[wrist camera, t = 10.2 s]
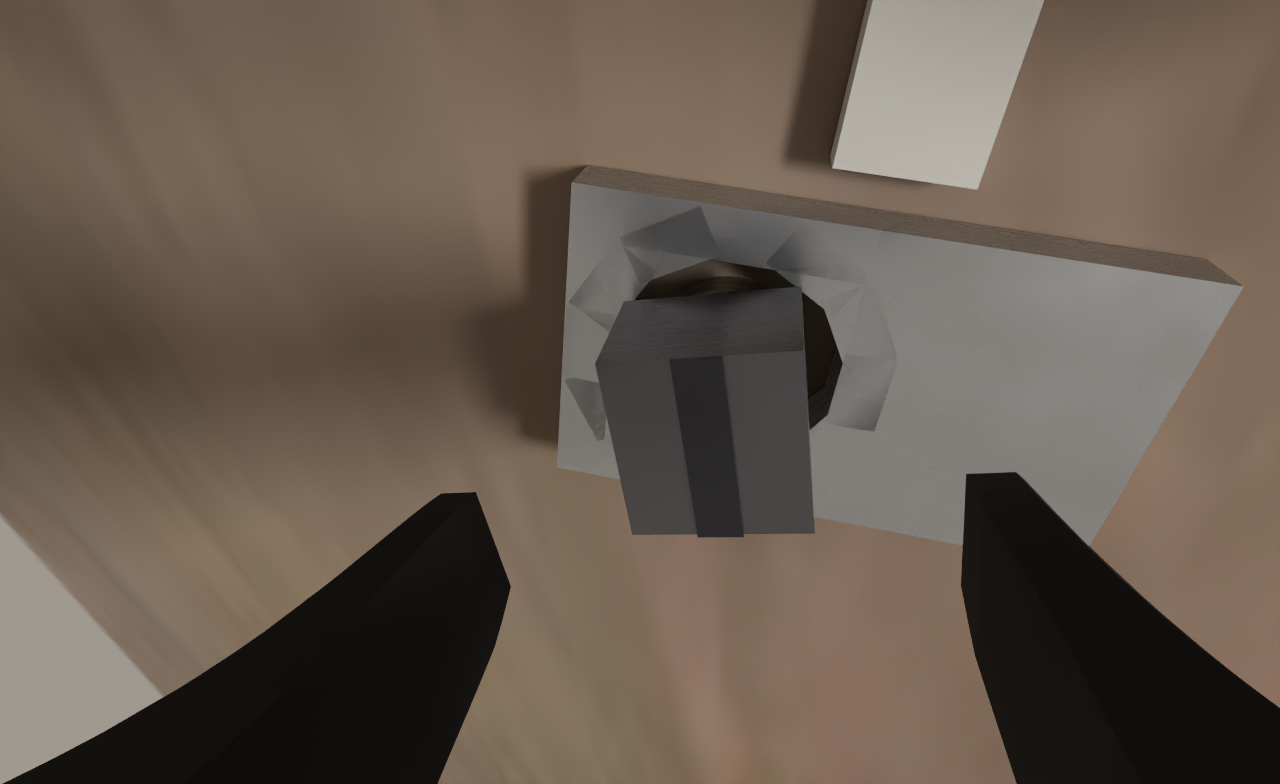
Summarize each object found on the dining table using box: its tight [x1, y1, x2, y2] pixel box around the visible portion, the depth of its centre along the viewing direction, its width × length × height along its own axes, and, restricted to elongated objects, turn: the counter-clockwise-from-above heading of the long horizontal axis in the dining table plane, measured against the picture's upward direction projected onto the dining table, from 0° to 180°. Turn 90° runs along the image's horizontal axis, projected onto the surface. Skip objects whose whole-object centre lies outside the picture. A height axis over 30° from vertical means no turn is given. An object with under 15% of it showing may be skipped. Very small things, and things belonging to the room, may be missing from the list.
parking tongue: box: [830, 0, 1044, 189], centre depth 14 cm, size 3×5×1 cm, turn 174°
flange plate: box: [557, 165, 1244, 546], centre depth 18 cm, size 14×8×2 cm, turn 84°
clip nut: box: [595, 277, 815, 537], centre depth 17 cm, size 4×4×5 cm
